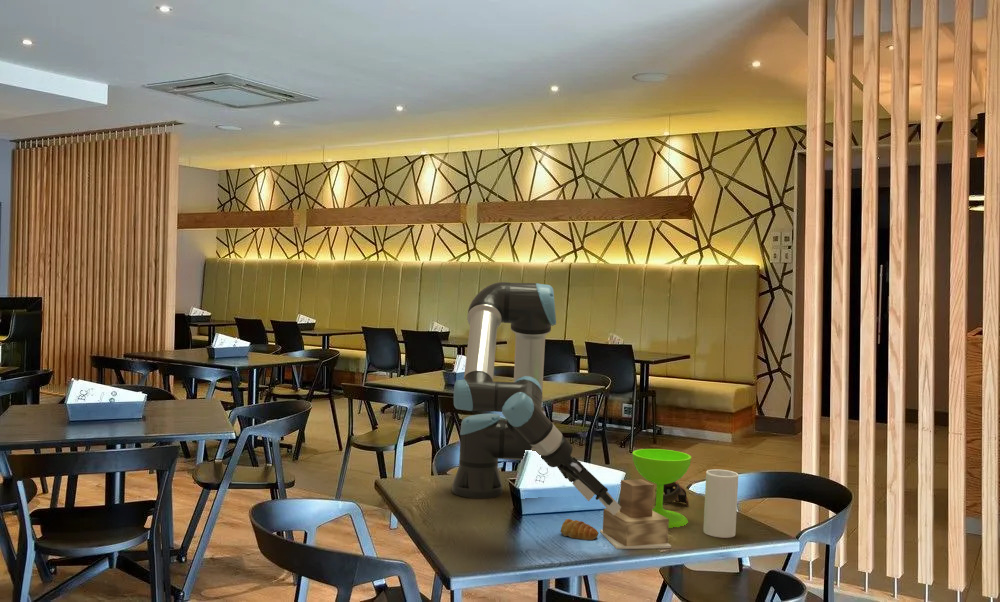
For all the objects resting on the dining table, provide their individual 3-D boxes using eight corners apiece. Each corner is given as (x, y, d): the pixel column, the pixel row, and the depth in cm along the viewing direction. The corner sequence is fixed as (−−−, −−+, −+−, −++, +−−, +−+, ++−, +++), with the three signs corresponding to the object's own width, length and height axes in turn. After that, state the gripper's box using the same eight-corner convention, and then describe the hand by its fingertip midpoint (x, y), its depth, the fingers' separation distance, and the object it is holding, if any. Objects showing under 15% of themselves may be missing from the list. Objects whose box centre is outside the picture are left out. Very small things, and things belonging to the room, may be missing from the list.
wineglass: (617, 514, 246) (620, 450, 246) (663, 509, 254) (666, 447, 253) (653, 530, 232) (656, 462, 232) (700, 524, 240) (703, 458, 239)
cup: (737, 531, 235) (740, 471, 234) (733, 539, 227) (736, 477, 226) (705, 526, 238) (708, 468, 237) (700, 534, 230) (703, 473, 230)
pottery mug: (695, 511, 256) (687, 488, 253) (666, 524, 255) (656, 502, 253) (681, 490, 267) (673, 468, 264) (653, 503, 267) (644, 481, 264)
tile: (616, 548, 215) (616, 546, 215) (600, 531, 229) (600, 529, 229) (671, 548, 217) (671, 545, 217) (651, 531, 231) (651, 529, 231)
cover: (624, 546, 215) (627, 489, 215) (602, 531, 227) (605, 477, 226) (667, 542, 219) (670, 487, 219) (643, 529, 231) (646, 476, 230)
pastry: (602, 537, 225) (603, 522, 225) (590, 543, 219) (591, 528, 219) (570, 530, 230) (570, 515, 230) (557, 536, 224) (558, 521, 224)
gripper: (521, 446, 225) (572, 502, 231) (562, 468, 201) (617, 529, 207) (541, 425, 226) (591, 481, 232) (584, 444, 203) (638, 505, 209)
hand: (604, 503), depth 220 cm, fingers open, 13 cm apart
